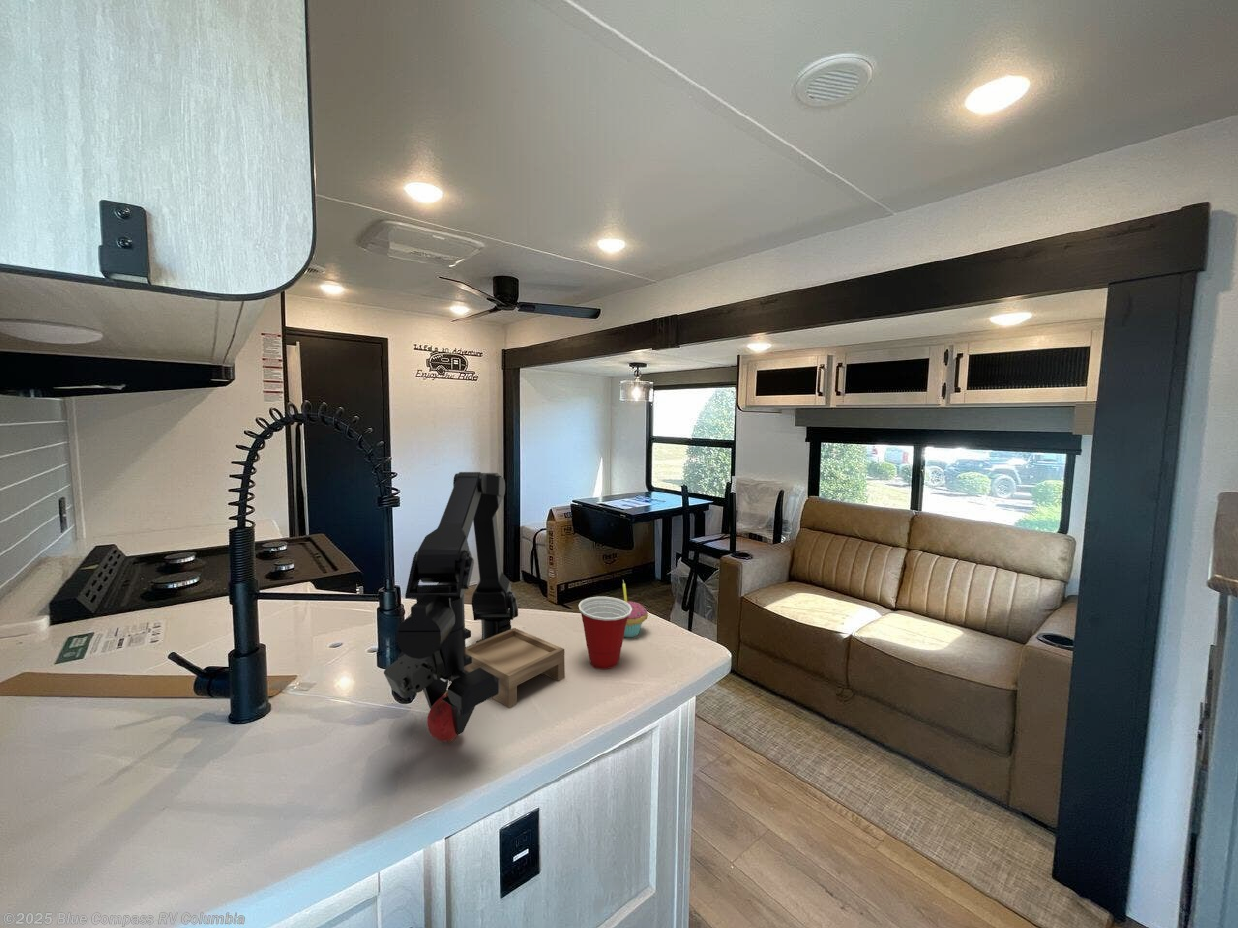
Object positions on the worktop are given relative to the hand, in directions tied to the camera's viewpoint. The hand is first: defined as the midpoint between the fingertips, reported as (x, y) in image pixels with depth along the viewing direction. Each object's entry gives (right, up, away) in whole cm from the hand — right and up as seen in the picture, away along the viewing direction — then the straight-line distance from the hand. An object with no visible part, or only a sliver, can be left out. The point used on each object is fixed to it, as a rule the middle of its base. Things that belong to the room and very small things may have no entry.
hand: (448, 725), depth 75 cm
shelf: (+6, -1, +19) cm, 20 cm away
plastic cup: (+23, -1, +25) cm, 34 cm away
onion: (0, -3, 0) cm, 3 cm away
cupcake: (+28, 0, +39) cm, 48 cm away
